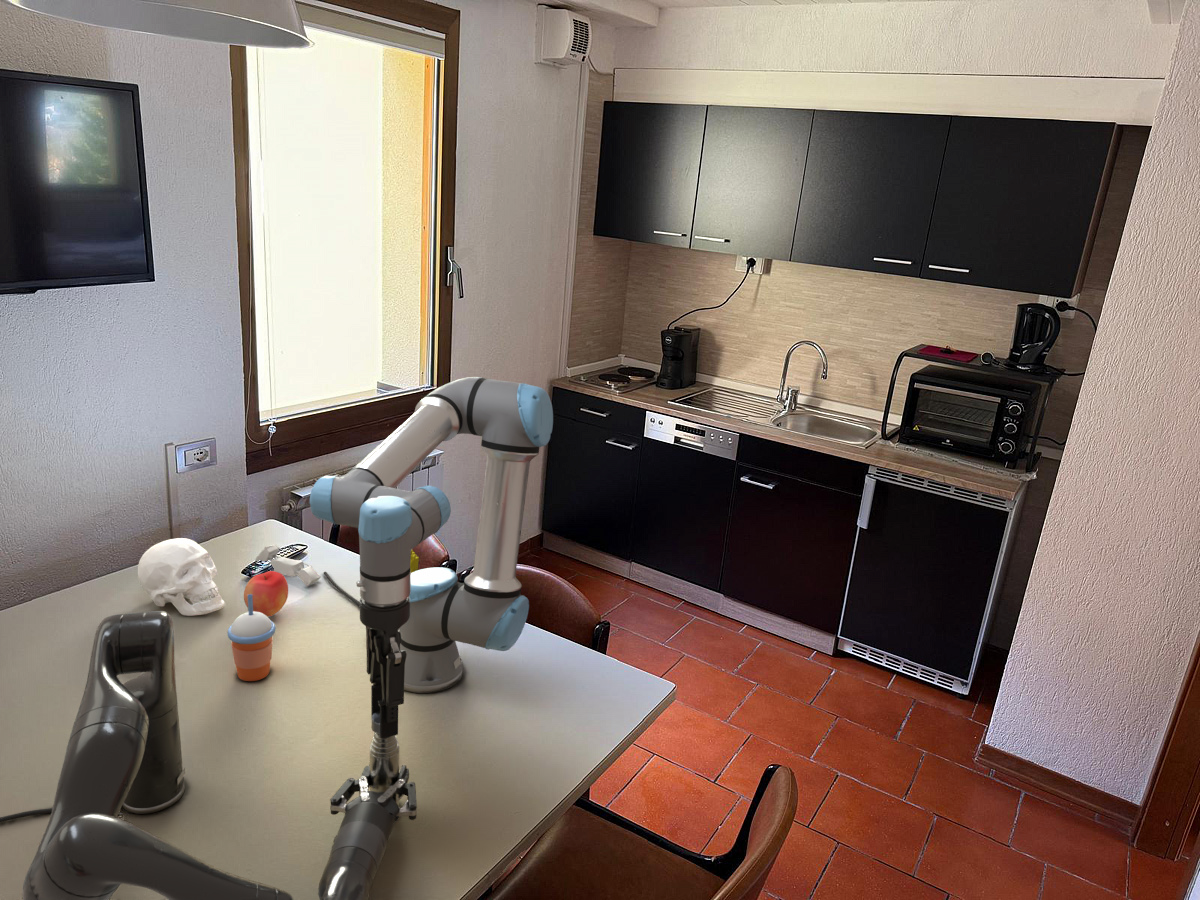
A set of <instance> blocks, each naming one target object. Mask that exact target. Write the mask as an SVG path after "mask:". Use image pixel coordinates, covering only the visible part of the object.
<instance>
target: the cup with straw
mask: <svg viewBox="0 0 1200 900" xmlns="http://www.w3.org/2000/svg"><path fill="white" fill-rule="evenodd" d="M275 632H276V624H275V623H274V621H272V620H271V619H270V618H269V617H267V616H266V615H265V614H263V613H260V612H255V611H253V598H252V594H249V595H248V607H247V611H246V612H244V613H242V614H240V615H238V616H237V617H236V618H235V619H234V620H233V622H232V623H231V625H230V626H229V627H228V629H227V633H226V634H227V637H228V639H229V640H230V642H231V650H232V656H233V661H234V665H235V668H236V675H237V677H238V678H239V679H240V680H241V681H245V682H256V681H260V680H262V679H264V678H266V677H267V676H268V675H270V670H271V660H272V658H273V657H272V656H273V641H274V638H273V636H274V635H275Z"/></svg>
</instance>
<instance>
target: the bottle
mask: <svg viewBox="0 0 1200 900" xmlns="http://www.w3.org/2000/svg"><path fill="white" fill-rule="evenodd" d="M369 764H370V786H369V791H374V792H386V790H387V789H388V788H389V787H390V786H391V785H392V786H393V785H394V784H395V783H396V782H397V778H398V775H399V772H400V744H399V741H398V737H397V735H394V736H391V737H387V738H383V739H381V737H380V734H377V733H375V732H374V731H373V735H372V739H371V742H370V745H369ZM398 806H399V807H400V801H399V802H398Z"/></svg>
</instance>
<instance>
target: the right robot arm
mask: <svg viewBox="0 0 1200 900" xmlns="http://www.w3.org/2000/svg"><path fill="white" fill-rule="evenodd" d="M414 408H415V409H414V413H413V414H412V415H410V417H408V418H407V419H406V420H405V421H404V422H403V423H402V424H400V425H399V426H398V427H397V428H396V429H395V430H394V431H392V432H391V434H390V435H388V436H387V437H386V438H385V439H384V440H382V442H380V443H379V444H378V445H377V446H376V447H375V448H373V449H372V450H371V451H370V452H369V453H368V454H366V455H365V457H363V458H362V459H361V460H360V461H359V462H358V463H356V465H354V466H353V467H352V468H351V469H350V470H349V471H348V472H347V473H346V474H345V475H344V476H341V477H340V476H338V475H324V476H321V477H319V478H318V479H317V480H316V481H315V483H314V484H313V486H312V489H311V491H310V495H309V505H310V511H311V513H312V515H313V516H314V517H315V518H316V519H318V520H321V521H325V522H329V523H332V524H334V525H341V526H346V527H351V528H356V529H357V531H358V541H359V543H358V544H359V545H358V546H359V580H357V581H356V582H355V583H356V587H357V588H359V596H360V598H359V601H358V600H357V599H355V598H354V597H353V596H352V595H351V594H349V593H348V592H346V591H345V590H344V589H343V588H342V587H340V586H339V585H338V584H337V583H336V582H335V581H334V580H333V578H332V577H331V576H330V575H329V574H328V572H327V571H323V575H324V576H325V578H326V579H327V580H328V581H329V583H330V584H331V585H332V586H333V587H334V588H335V589H336V590H337V591H339V592H340V594H342V595H343V596H344V597H346V598H347V599H349V600H350V601H351V602H353V603H354V604H356V605H357V606H358V607H359V620H360V622H361V624H362V625H363V626H365V637H366V638H365V640H366V641H365V642H366V645H365V647H366V673H367V675H370V676H369V682H370V683H371V684H372V685H371V686H370V687H371V688H370V690H371V692H370V693H371V694H370V695H371V697H370V699H371V704H370V705H371V707H370V709H371V713H370V716H371V717H370V720H371V721H372V715H373V714H374V713H375V712H377V711H380V737H381V739H383V738H387V737H391V736H394V735H396V736H399V706H401V705H403V704H404V703H405V691H407V692H410V693H416V694H430V693H431V694H432V693H438V692H441V691H445V690H447V689H450V688H451V687H453V686H455V685H456V684H457V683H458V682H459V681H460V680H461V679H462V676H463V672H464V664H463V660H462V657H461V656H460V653H459V649H458V646H457V642H459V643H463V644H466V645H467V644H468V645H470V646H471V645H472V646H476V647H479V648H482V649H485V650H489V651H490V650H494V651H499V652H505V651H508V650H510V649H511V648H512V647H513V646H514V645H515V644H516V643H517V641H518V640H519V638H520V636H521V635H522V632H523V630H524V628H525V625H526V623H527V619H528V615H529V610H530V601H529V599H528V597H526V596H525V595H522V594H521V593H522V586H523V585H522V583H521V581H520V580H519V579H518V578H517V575H516V574H517V568H518V567H517V566H518V557H519V549H520V545H521V544H520V543H521V542H520V541H521V535H522V529H523V519H524V512H525V506H526V505H525V504H526V497H527V488H528V480H529V473H530V466H531V461H532V460H534V459H535V458H536V457H537V456H538V455H539V453H540V448H542V447H545V446H547V445H548V444H549V442H550V440H551V434H552V432H553V427H554V426H553V425H554V409H553V404H552V401H551V398H550V395H549V394H548V392H547V391H546V390H545V388H543V387H540V386H536V385H532V384H528V383H525V382H515V381H506V380H498V379H494V378H493V379H492V378H485V377H481V376H467V377H463V378H458V379H456V380H453V381H450V382H448V383H445V384H444V385H441V386H439V387H437V388H435V389H434V390H432V391H430V392H429V393H428V394H427V395H425V396H424V397H423V398H421V400H419V402H417V404H416V405H415V407H414ZM460 434H461V435H462V434H463V435H473V436H477V437H478V436H479V437H481V444H480V448H481V450H483V452H484V453H485V454H486V464H485V465H486V466H485V473H484V481H483V489H482V497H481V504H480V505H481V506H480V512H479V522H478V528H477V536H476V537H477V538H476V545H475V554H474V561H473V570H472V572H471V573H469V574H468V575H467V576H466V577H465V578H464V580H463V581H464V582H460V581H458V580H459V579H458V578H459V577H458V575H457V573H456V571H454V570H453V569H451V568H448V567H434V566H433V567H427V568H421V569H418V570H417V571H415V572H412V573H411V569H410V559H411V550H414V548H416V547H418V545H420V544H421V543H423V542H425V540H427V539H429V538H430V537H431V536H432V535H435V534H436V533H438V531H440V529H441V528H442V527H443V526H444V525H446V524H447V522H448V521H449V520H450V519H449V518H450V516H451V511H452V510H451V509H452V508H451V503H450V500H449V497H448V496H447V495H446V493H445V492H444V491H443V490H442V489H440V488H439V487H436V486H433V485H424V486H420V487H416V488H415V489H413V490H407V489H403V488H402V489H401V488H397V487H399V485H400V484H402V482H403V481H405V479H406V478H407V477H408V476H410V474H411V473H412V472H413V471H414V470H416V468H417V467H418V466H420V464H421V463H422V462H423V461H425V459H426V458H428V457H429V455H430V454H432V453H433V452H434V450H436V448H438V446H440V444H441V443H443V442H448V441H450V440H453V439H454V438H455V437H456V436H457V435H460Z"/></svg>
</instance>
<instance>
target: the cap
mask: <svg viewBox="0 0 1200 900" xmlns="http://www.w3.org/2000/svg"><path fill="white" fill-rule="evenodd" d="M371 730H372V732H373V733H374V732H375V733H377V734H380V711H377V712H375V713H374V714H373V715H372V720H371Z"/></svg>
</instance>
